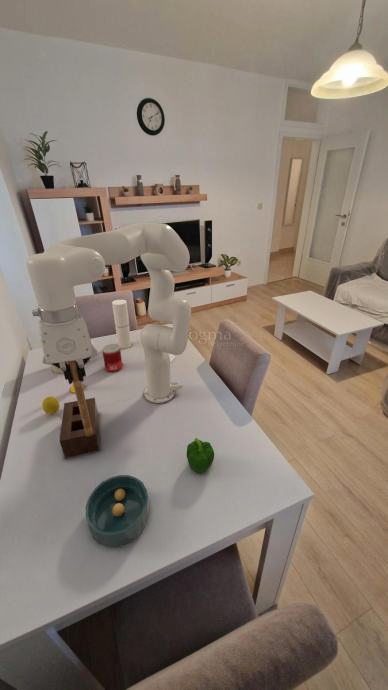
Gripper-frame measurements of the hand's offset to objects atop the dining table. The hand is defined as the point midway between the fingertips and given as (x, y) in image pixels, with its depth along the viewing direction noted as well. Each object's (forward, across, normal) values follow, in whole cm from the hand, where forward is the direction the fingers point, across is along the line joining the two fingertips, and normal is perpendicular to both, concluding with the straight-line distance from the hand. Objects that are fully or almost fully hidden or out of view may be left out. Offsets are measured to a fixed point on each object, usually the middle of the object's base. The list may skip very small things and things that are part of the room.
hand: (76, 379), depth 70 cm
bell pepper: (+33, +30, -11) cm, 46 cm away
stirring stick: (+19, 0, -1) cm, 19 cm away
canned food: (+33, +10, +53) cm, 63 cm away
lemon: (+33, -15, +28) cm, 46 cm away
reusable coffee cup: (+33, -13, +60) cm, 70 cm away
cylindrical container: (+34, +17, +74) cm, 83 cm away
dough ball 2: (+31, +5, -18) cm, 36 cm away
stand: (+33, -4, +14) cm, 36 cm away
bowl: (+33, +5, -18) cm, 38 cm away
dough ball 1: (+31, +6, -14) cm, 34 cm away
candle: (+33, -7, +41) cm, 53 cm away
